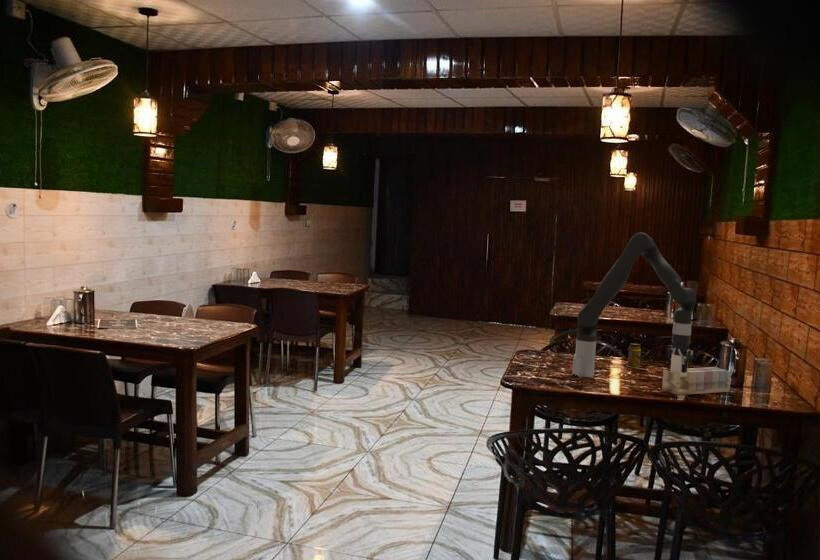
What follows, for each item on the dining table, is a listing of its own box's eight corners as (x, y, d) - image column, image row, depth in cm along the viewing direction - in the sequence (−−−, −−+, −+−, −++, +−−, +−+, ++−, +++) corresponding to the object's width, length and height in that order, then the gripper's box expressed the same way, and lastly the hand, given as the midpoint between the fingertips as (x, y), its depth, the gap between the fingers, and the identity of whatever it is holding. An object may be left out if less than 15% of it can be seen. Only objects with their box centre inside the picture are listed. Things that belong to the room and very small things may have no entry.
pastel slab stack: (729, 391, 293) (730, 370, 292) (676, 394, 282) (678, 373, 282) (713, 386, 301) (715, 366, 301) (661, 389, 291) (663, 368, 290)
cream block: (679, 376, 284) (681, 356, 284) (670, 374, 290) (671, 354, 289) (686, 376, 286) (688, 356, 285) (677, 373, 291) (678, 353, 290)
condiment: (642, 368, 338) (644, 345, 337) (627, 367, 336) (629, 345, 335) (636, 365, 345) (637, 342, 344) (621, 364, 344) (622, 342, 343)
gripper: (663, 330, 291) (660, 367, 293) (687, 336, 278) (684, 375, 279) (676, 330, 294) (673, 367, 295) (700, 335, 281) (697, 374, 282)
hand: (678, 370), depth 287 cm, fingers closed on cream block, 5 cm apart
